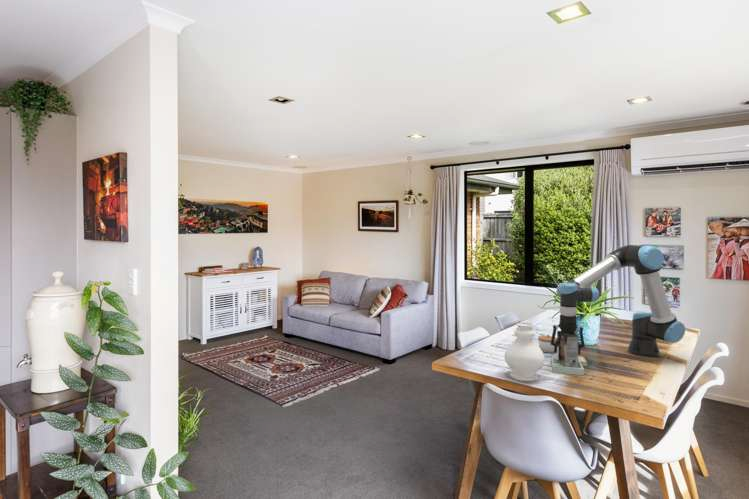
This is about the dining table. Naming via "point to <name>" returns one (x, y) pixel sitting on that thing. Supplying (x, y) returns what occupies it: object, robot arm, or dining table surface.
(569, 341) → the coffee box
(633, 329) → the robot arm
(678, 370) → the dining table surface
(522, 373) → the decorative vase
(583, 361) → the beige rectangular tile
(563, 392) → the dining table surface
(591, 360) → the dining table surface
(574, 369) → the tray
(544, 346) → the lidded jar
